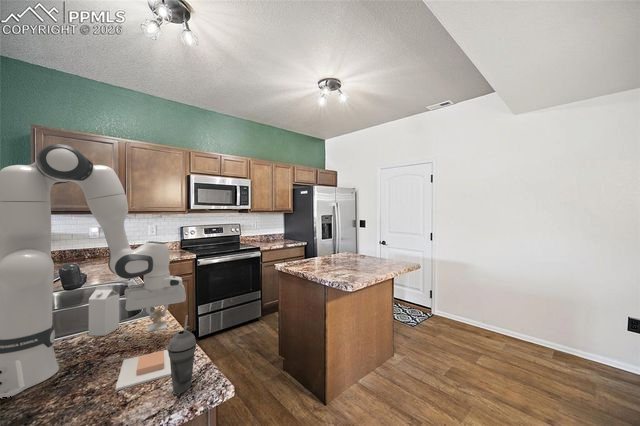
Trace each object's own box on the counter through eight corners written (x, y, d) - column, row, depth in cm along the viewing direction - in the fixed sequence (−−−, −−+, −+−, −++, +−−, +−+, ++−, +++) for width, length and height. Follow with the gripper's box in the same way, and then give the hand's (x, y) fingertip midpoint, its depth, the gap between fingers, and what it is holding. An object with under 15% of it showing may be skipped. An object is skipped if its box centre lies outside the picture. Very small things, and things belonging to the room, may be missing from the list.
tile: (139, 361, 85) (136, 376, 77) (139, 356, 85) (136, 369, 77) (163, 355, 89) (163, 368, 81) (163, 350, 89) (163, 363, 81)
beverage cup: (169, 382, 75) (169, 313, 76) (197, 376, 78) (197, 310, 78) (164, 398, 68) (164, 323, 69) (195, 392, 71) (195, 318, 71)
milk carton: (103, 328, 112) (103, 284, 113) (119, 328, 112) (119, 284, 112) (88, 336, 105) (88, 289, 105) (105, 336, 105) (105, 289, 105)
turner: (146, 333, 92) (146, 324, 92) (149, 317, 107) (149, 309, 107) (166, 328, 95) (166, 320, 95) (166, 314, 110) (166, 306, 110)
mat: (115, 390, 72) (115, 388, 72) (123, 361, 86) (123, 359, 86) (173, 374, 79) (173, 372, 79) (172, 350, 94) (171, 348, 94)
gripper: (123, 288, 94) (123, 326, 94) (186, 280, 105) (186, 314, 105) (125, 284, 100) (126, 320, 100) (185, 276, 110) (185, 309, 110)
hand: (157, 317), depth 102 cm, fingers closed on turner, 2 cm apart
